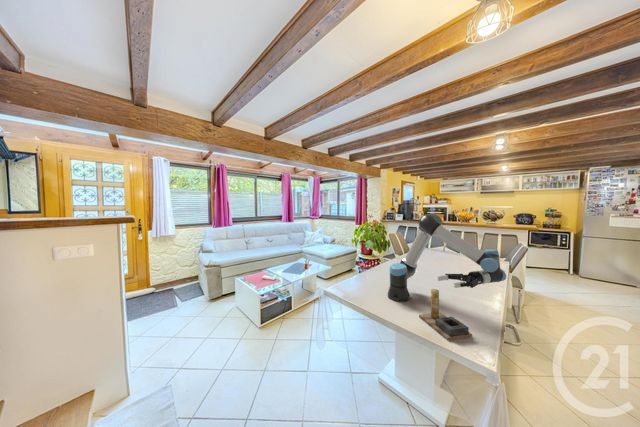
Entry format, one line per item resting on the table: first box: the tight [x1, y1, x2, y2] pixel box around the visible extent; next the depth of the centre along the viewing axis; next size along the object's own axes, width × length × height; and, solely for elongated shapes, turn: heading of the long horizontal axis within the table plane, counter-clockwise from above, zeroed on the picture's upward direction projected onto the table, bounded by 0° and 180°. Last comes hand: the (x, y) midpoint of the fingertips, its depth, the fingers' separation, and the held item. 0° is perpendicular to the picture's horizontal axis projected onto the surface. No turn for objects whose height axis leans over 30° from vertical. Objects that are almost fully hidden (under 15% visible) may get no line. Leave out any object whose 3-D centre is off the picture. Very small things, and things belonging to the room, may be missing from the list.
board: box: [418, 311, 473, 341], centre depth 114 cm, size 22×14×5 cm, turn 10°
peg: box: [430, 288, 440, 319], centre depth 120 cm, size 4×4×16 cm
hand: (445, 281), depth 122 cm, fingers open, 13 cm apart
